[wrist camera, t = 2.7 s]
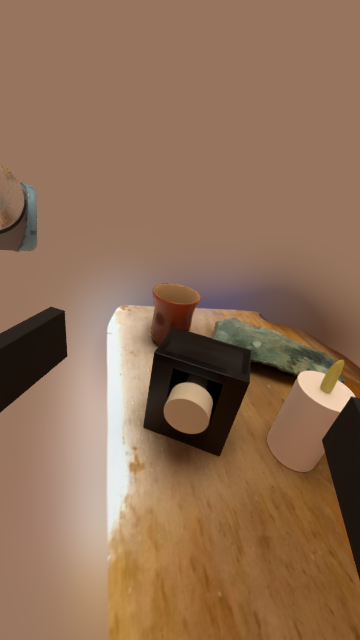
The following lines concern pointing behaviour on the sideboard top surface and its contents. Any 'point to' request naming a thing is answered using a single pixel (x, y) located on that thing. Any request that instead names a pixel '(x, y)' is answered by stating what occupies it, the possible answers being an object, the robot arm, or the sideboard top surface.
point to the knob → (189, 406)
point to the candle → (307, 418)
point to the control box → (206, 362)
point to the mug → (172, 309)
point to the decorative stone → (272, 348)
